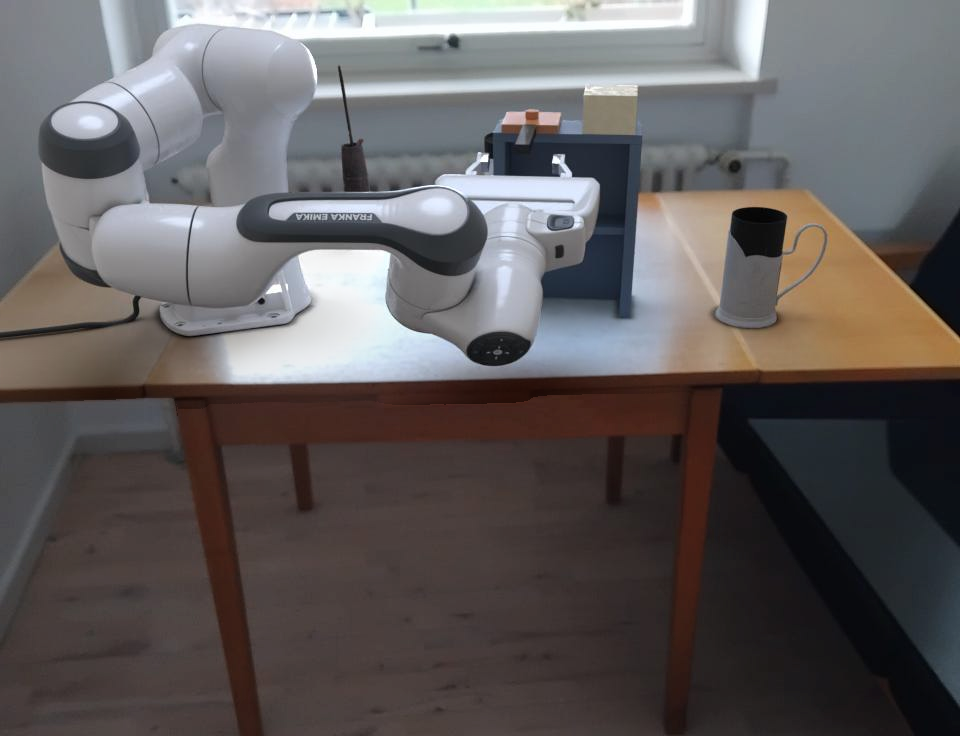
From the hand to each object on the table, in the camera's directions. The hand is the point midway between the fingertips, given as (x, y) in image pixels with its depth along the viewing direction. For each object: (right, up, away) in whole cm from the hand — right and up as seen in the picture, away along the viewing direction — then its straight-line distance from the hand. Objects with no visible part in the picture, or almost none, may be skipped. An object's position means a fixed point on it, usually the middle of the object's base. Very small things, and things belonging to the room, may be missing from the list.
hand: (521, 157), depth 128 cm
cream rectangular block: (+12, +8, +11) cm, 18 cm away
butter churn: (-26, +6, +60) cm, 66 cm away
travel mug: (-1, -2, +45) cm, 45 cm away
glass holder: (+36, -17, +22) cm, 45 cm away
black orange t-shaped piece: (+1, +5, +8) cm, 10 cm away
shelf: (+7, -14, +26) cm, 31 cm away
